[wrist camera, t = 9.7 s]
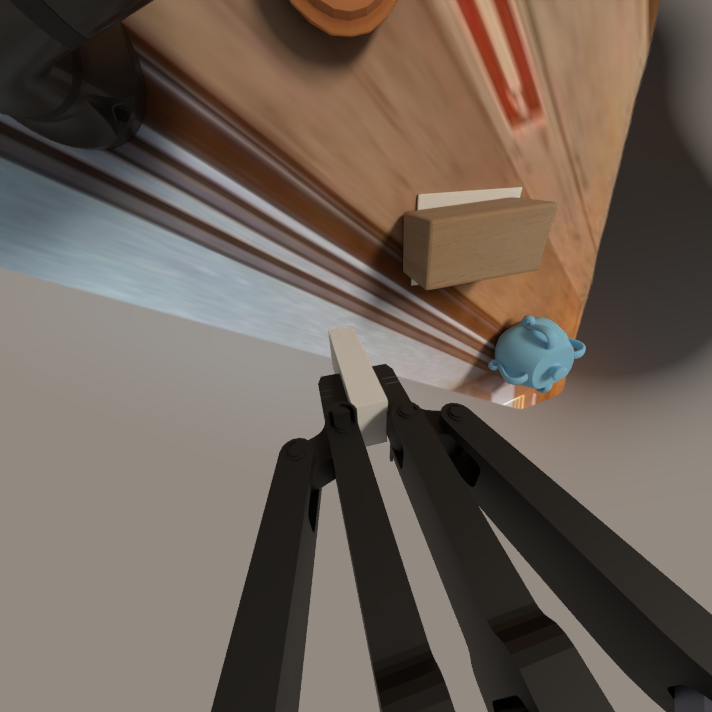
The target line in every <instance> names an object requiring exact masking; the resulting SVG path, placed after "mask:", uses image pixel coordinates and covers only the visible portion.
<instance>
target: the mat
mask: <svg viewBox="0 0 712 712" xmlns="http://www.w3.org/2000/svg"><path fill="white" fill-rule="evenodd" d="M521 191H522V187H516V188H502V189H488V190H474V191H460V192H446V193H431V194H418V200H417V210H422V209H430V208H437V207H444V206H451V205H458V204H466V203H473V202H480V201H487V200H494V199H502V198H509V197H514V198H520V195H521ZM411 285H419V284H418V283H416V282H415V281H414V280H413V279H411Z"/></svg>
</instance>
